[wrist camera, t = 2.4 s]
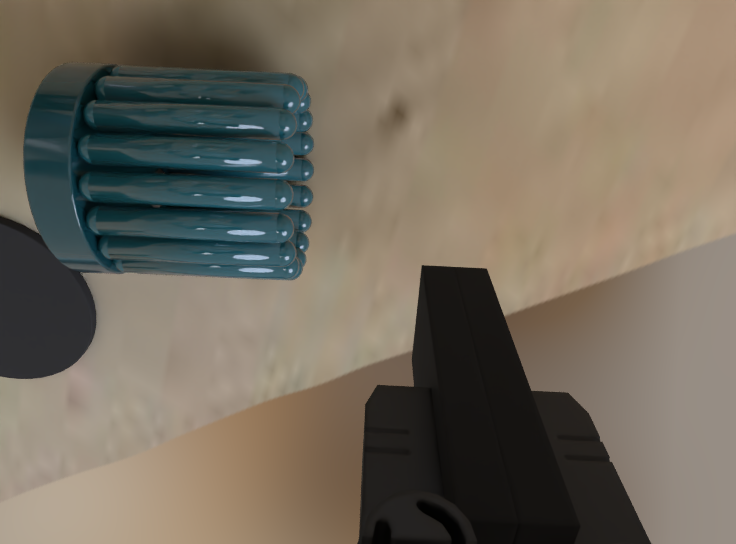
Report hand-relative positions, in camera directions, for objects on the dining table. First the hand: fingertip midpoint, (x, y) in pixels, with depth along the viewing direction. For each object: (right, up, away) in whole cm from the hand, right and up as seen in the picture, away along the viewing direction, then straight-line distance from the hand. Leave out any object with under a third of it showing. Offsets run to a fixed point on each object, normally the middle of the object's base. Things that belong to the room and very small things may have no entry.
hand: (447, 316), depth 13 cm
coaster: (-23, 0, +17) cm, 29 cm away
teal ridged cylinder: (-9, +8, +12) cm, 17 cm away
